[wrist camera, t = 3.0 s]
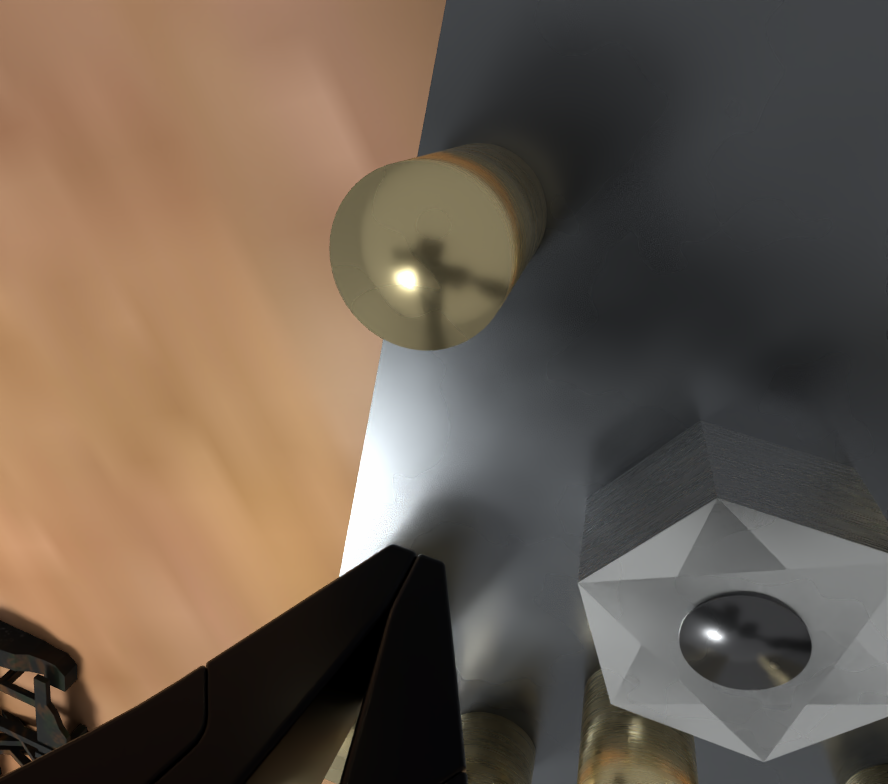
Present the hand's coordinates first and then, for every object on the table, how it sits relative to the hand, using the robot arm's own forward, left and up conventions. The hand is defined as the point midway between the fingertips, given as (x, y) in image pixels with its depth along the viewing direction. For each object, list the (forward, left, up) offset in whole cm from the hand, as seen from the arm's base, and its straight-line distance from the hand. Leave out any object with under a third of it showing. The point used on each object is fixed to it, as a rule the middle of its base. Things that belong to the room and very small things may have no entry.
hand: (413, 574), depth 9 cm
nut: (-5, 0, -3) cm, 6 cm away
